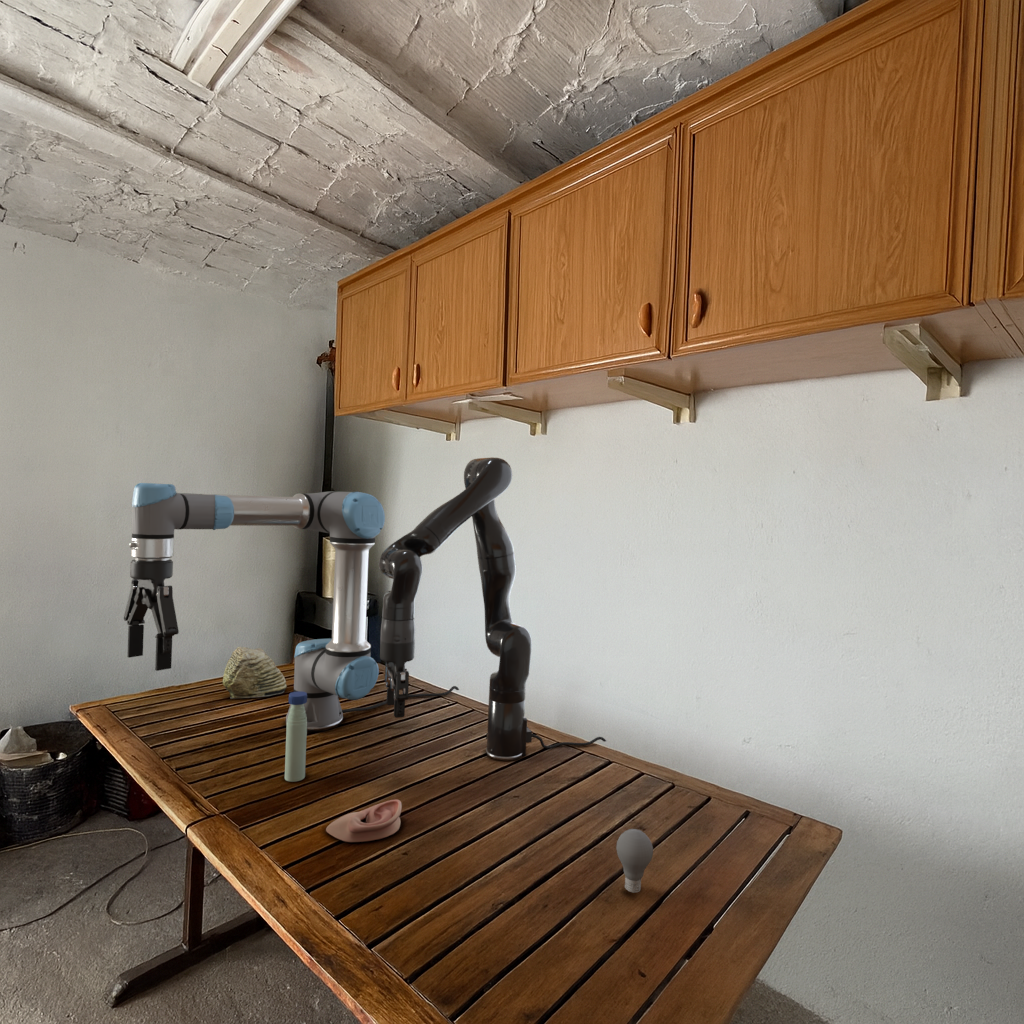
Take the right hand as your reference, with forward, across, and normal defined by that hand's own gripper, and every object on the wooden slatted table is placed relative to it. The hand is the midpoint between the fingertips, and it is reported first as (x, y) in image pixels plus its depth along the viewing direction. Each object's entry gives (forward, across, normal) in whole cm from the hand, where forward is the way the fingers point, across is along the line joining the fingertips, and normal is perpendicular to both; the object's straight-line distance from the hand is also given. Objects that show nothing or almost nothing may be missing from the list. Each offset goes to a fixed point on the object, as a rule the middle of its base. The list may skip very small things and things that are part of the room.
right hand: (395, 710), depth 141 cm
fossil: (+17, +73, +29) cm, 80 cm away
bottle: (+16, +9, +20) cm, 28 cm away
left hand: (-12, +8, +49) cm, 51 cm away
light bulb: (+16, -50, -30) cm, 61 cm away
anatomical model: (+16, -17, +9) cm, 25 cm away
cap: (-2, +9, +20) cm, 22 cm away
